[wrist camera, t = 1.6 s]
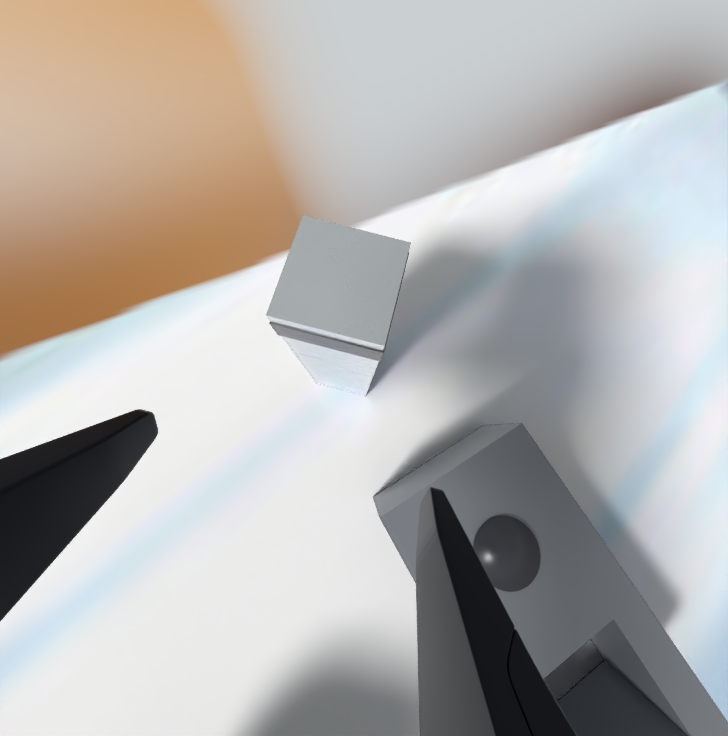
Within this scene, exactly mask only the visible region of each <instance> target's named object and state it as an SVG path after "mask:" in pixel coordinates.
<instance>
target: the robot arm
mask: <svg viewBox="0 0 728 736" xmlns="http://www.w3.org/2000/svg"><path fill="white" fill-rule="evenodd" d="M157 434H158V427H157V424H156V420H155V416H154V414H153V413H152V412H149V411H146V410H141V409H138V410H134V411H131V412H129V413H126V414H123V415H120V416H118V417H115V418H112V419H109V420H107V421H104V422H101V423H99V424H96V425H93V426H90V427H88V428H85V429H82V430H79V431H77V432H74V433H71V434H68V435H66V436H63V437H60V438H57V439H55V440H52V441H49V442H46V443H44V444H41V445H38V446H35V447H33V448H30V449H27V450H24V451H22V452H19V453H16V454H13V455H11V456H8V457H5V458H2V459H0V621H1V620H2V619H3V618H4V617H5V616H6V614H7V613H8V612H9V611H10V610H11V609H12V608H13V606H14V605H15V604H16V603H17V602H18V601H19V600H20V599H21V597H22V596H23V595H24V594H25V593H26V592H27V591H28V589H29V588H30V587H31V586H32V585H33V584H34V583H35V581H36V580H37V579H38V578H39V577H40V576H41V575H42V574H43V572H44V571H45V570H46V569H47V568H48V567H49V566H50V564H51V563H52V562H53V561H54V560H55V559H56V558H57V557H58V555H59V554H60V553H61V552H62V551H63V550H64V549H65V547H66V546H67V545H68V544H69V543H70V542H71V541H72V540H73V538H74V537H75V536H76V535H77V534H78V533H79V532H80V530H81V529H82V528H83V527H84V526H85V525H86V524H87V522H88V521H89V520H90V519H91V518H92V517H93V516H94V515H95V513H96V512H97V511H98V510H99V509H100V508H101V507H102V505H103V504H104V503H105V502H106V501H107V500H108V499H109V498H110V496H111V495H112V494H113V493H114V492H115V491H116V490H117V488H118V487H119V486H120V485H121V484H122V483H123V481H124V480H125V479H126V478H127V476H128V475H129V474H130V472H131V471H132V470H133V468H134V467H135V465H136V464H137V463H138V461H139V460H140V459H141V457H142V456H143V455H144V453H145V452H146V450H147V449H148V448H149V446H150V445H151V444H152V442H153V441H154V439H155V438H156V436H157ZM416 601H417V641H418V680H419V720H420V736H577V735H576V733H575V731H574V730H573V728H572V726H571V725H570V723H569V721H568V720H567V718H566V716H565V715H564V713H563V711H562V710H561V708H560V706H559V705H558V703H557V701H556V700H555V698H554V696H553V694H552V693H551V691H550V689H549V688H548V686H547V684H546V683H545V681H544V679H543V677H542V675H541V674H540V672H539V670H538V668H537V666H536V665H535V663H534V661H533V659H532V657H531V655H530V654H529V652H528V650H527V648H526V646H525V644H524V642H523V640H522V639H521V637H520V635H519V633H518V631H517V630H516V629H514V628H515V626H514V624H513V622H512V620H511V618H510V616H509V614H508V612H507V610H506V608H505V607H504V605H503V603H502V601H501V599H500V597H499V595H498V593H497V591H496V590H495V588H494V586H493V584H492V582H491V580H490V578H489V576H488V574H487V572H486V571H485V569H484V567H483V565H482V563H481V561H480V559H479V557H478V555H477V553H476V552H475V550H474V548H473V546H472V544H471V542H470V540H469V538H468V536H467V535H466V533H465V531H464V529H463V527H462V525H461V523H460V521H459V519H458V517H457V516H456V514H455V512H454V510H453V508H452V506H451V504H450V502H449V500H448V498H447V497H446V495H445V493H444V491H443V490H441V489H438V488H435V487H429V488H428V490H427V491H426V493H425V495H424V497H423V499H422V501H421V503H420V509H419V521H418V534H417V547H416Z"/></svg>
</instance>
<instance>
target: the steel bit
mask: <svg viewBox="0 0 728 736" xmlns="http://www.w3.org/2000/svg"><path fill="white" fill-rule="evenodd" d="M410 244H411V243H410V242H406V241H402V240H398V239H394V238H390V237H386V236H382V235H378V234H374V233H371V232H367V231H363V230H359V229H355V228H351V227H347V226H343V225H338V224H335V223H331V222H327V221H323V220H319V219H315V218H311V217H307V216H302V219H301V222H300V224H299V227H298V230H297V232H296V235H295V238H294V241H293V244H292V246H291V249H290V252H289V254H288V257H287V260H286V262H285V265H284V268H283V271H282V273H281V276H280V279H279V281H278V284H277V287H276V290H275V292H274V295H273V298H272V300H271V303H270V306H269V309H268V311H267V314H266V316H267V317H268V319H269V320H270V323H269V324H270V325H271V326H272V327H273V329H274V330H275V331H276V333H277V334H278V335H280V336H282V338H283V339H284V340H285V342H286V343H287V345H288V346H289V347H290V349H291V350H292V351H293V353H294V354H295V355H296V357H297V358H298V360H299V361H300V362H301V364H302V365H303V366H304V368H305V369H306V370H307V372H308V373H309V374H310V376H311V377H312V379H313V380H314V381H315V383H317V384H320V385H324V386H328V387H332V388H336V389H339V390H343V391H347V392H351V393H355V394H358V395H362V396H366V394H367V391H368V389H369V386H370V383H371V381H372V378H373V375H374V373H375V370H376V368H377V365H378V362H379V361H381V359H382V356H383V354H384V350H385V346H386V342H387V338H388V334H389V330H390V326H391V322H392V318H393V314H394V311H395V307H396V303H397V299H398V295H399V291H400V287H401V283H402V279H403V275H404V271H405V267H406V263H407V259H408V255H409V248H410Z"/></svg>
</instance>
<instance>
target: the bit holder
mask: <svg viewBox="0 0 728 736" xmlns="http://www.w3.org/2000/svg"><path fill="white" fill-rule="evenodd" d="M429 487H435V488H438V489H441V490H443V491H444V493H445V495H446V497H447V498H448V500H449V502H450V504H451V506H452V508H453V510H454V512H455V514H456V516H457V517H458V519H459V521H460V523H461V525H462V527H463V529H464V531H465V533H466V535H467V536H468V538H469V540H470V542H471V544H472V546H473V548H474V550H475V552H476V553H477V555H478V557H479V559H480V561H481V563H482V565H483V567H484V569H485V571H486V572H487V574H488V576H489V578H490V580H491V582H492V584H493V586H494V588H495V590H496V591H497V593H498V595H499V597H500V599H501V601H502V603H503V605H504V607H505V608H506V610H507V612H508V614H509V616H510V618H511V620H512V622H513V624H514V626H515V628H514V629H516V630H517V631H518V633H519V635H520V637H521V639H522V640H523V642H524V644H525V646H526V648H527V650H528V652H529V654H530V655H531V657H532V659H533V661H534V663H535V665H536V666H537V668H538V670H539V672H540V674H541V675H542V677H543V679H544V678H545V677H547V676H548V675H549V674H550V673H551V672H552V671H554V670H555V669H556V668H557V667H558V666H559V665H561V664H562V663H563V662H564V661H565V660H566V659H568V658H569V657H570V656H571V655H572V654H573V653H575V652H576V651H577V650H578V649H579V648H580V647H582V646H583V645H584V644H585V643H586V642H587V641H589V640H590V639H591V640H592V642H593V643H594V645H595V646H596V648H597V650H598V651H599V653H600V654H601V656H602V657H603V659H604V661H603V662H602V663H601V664H600V665H598V666H597V667H596V668H595V669H594V670H593V671H592V672H591V673H589V674H588V675H587V676H586V677H585V678H584V679H583V680H581V681H580V682H579V683H578V684H577V685H576V686H575V687H573V688H572V689H571V690H570V691H569V692H568V693H567V694H566V695H564V696H563V697H562V698H561V699H560V700H559V701H558V702H557V703H558V705H559V706H560V708H561V710H562V711H563V713H564V715H565V716H566V718H567V720H568V721H569V723H570V725H571V726H572V728H573V730H574V731H575V733H576V735H577V736H728V722H727V720H726V719H725V717H724V716H723V714H722V713H721V711H720V710H719V709H718V707H717V706H716V704H715V703H714V701H713V700H712V698H711V697H710V695H709V694H708V693H707V691H706V690H705V688H704V687H703V685H702V684H701V682H700V681H699V679H698V678H697V677H696V675H695V674H694V672H693V671H692V669H691V668H690V666H689V665H688V664H687V662H686V661H685V659H684V658H683V656H682V655H681V653H680V652H679V650H678V649H677V648H676V646H675V645H674V643H673V642H672V640H671V639H670V637H669V636H668V634H667V633H666V632H665V630H664V629H663V627H662V626H661V624H660V623H659V621H658V620H657V619H656V617H655V616H654V614H653V613H652V611H651V610H650V608H649V607H648V605H647V604H646V603H645V601H644V600H643V598H642V597H641V595H640V594H639V592H638V591H637V590H636V588H635V587H634V585H633V584H632V582H631V581H630V579H629V578H628V576H627V575H626V574H625V572H624V571H623V569H622V568H621V566H620V565H619V563H618V562H617V560H616V559H615V558H614V556H613V555H612V553H611V552H610V550H609V549H608V547H607V546H606V545H605V543H604V542H603V540H602V539H601V537H600V536H599V534H598V533H597V531H596V530H595V529H594V527H593V526H592V524H591V523H590V521H589V520H588V518H587V517H586V515H585V514H584V513H583V511H582V510H581V508H580V507H579V505H578V504H577V502H576V501H575V500H574V498H573V497H572V495H571V494H570V492H569V491H568V489H567V488H566V486H565V485H564V484H563V482H562V481H561V479H560V478H559V476H558V475H557V473H556V472H555V471H554V469H553V468H552V466H551V465H550V463H549V462H548V460H547V459H546V457H545V456H544V455H543V453H542V452H541V450H540V449H539V447H538V446H537V444H536V443H535V441H534V440H533V439H532V437H531V436H530V434H529V433H528V431H527V430H526V428H525V427H524V426H523V424H522V423H514V424H496V425H483V426H481V427H480V428H478V429H477V430H475V431H474V432H472V433H471V434H469V435H467V436H466V437H464V438H463V439H461V440H460V441H458V442H457V443H455V444H454V445H452V446H451V447H449V448H447V449H446V450H444V451H443V452H441V453H440V454H438V455H437V456H435V457H434V458H432V459H431V460H429V461H427V462H426V463H424V464H423V465H421V466H420V467H418V468H417V469H415V470H414V471H412V472H411V473H409V474H407V475H406V476H404V477H403V478H401V479H400V480H398V481H397V482H395V483H394V484H392V485H391V486H389V487H387V488H386V489H384V490H383V491H381V492H380V493H378V494H377V495H375V496H374V497H373V499H374V502H375V505H376V508H377V511H378V514H379V517H380V519H381V521H382V523H383V525H384V527H385V528H386V530H387V532H388V534H389V536H390V537H391V539H392V541H393V543H394V545H395V546H396V548H397V550H398V552H399V554H400V556H401V557H402V559H403V561H404V563H405V565H406V566H407V568H408V570H409V572H410V574H411V575H412V577H413V579H414V581H415V583H416V547H417V534H418V521H419V509H420V503H421V501H422V499H423V497H424V495H425V493H426V491H427V490H428V488H429Z"/></svg>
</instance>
